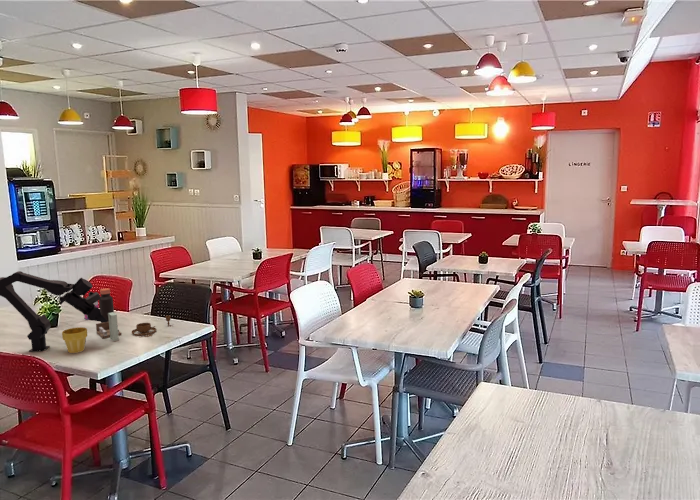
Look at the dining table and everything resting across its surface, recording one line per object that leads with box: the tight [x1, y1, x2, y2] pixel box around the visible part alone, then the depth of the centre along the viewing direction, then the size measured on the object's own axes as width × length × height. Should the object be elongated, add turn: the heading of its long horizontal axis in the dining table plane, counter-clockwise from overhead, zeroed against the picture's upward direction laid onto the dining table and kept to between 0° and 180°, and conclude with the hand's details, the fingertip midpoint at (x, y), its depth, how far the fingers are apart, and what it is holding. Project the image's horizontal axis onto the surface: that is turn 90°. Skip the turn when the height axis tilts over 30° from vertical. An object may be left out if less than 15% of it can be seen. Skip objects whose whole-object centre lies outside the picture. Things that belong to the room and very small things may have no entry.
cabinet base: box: [95, 322, 123, 340], centre depth 266 cm, size 12×9×5 cm
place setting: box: [131, 315, 171, 338], centre depth 269 cm, size 18×20×6 cm
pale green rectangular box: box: [108, 311, 120, 342], centre depth 257 cm, size 6×2×13 cm, turn 38°
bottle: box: [98, 287, 115, 323], centre depth 280 cm, size 7×7×20 cm
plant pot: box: [61, 326, 88, 354], centre depth 241 cm, size 10×10×10 cm
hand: (104, 319), depth 254 cm, fingers open, 9 cm apart
